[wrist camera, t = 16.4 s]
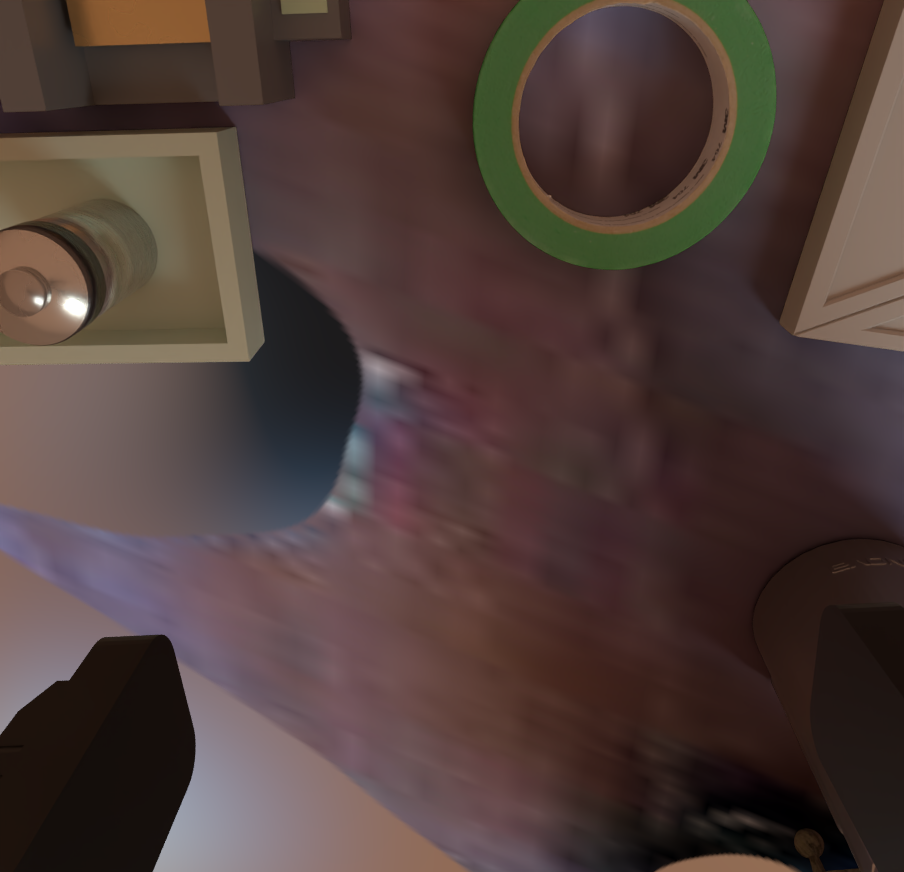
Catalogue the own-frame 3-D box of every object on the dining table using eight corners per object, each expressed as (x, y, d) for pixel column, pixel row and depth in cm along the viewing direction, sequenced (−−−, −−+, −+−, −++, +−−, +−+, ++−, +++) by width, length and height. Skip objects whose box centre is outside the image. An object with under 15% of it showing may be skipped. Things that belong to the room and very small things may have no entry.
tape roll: (643, -122, 28) (658, -138, 26) (810, 127, 32) (838, 132, 29) (415, 104, 32) (409, 108, 29) (587, 307, 35) (595, 326, 33)
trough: (264, 341, 36) (249, 361, 34) (-39, 346, 37) (-75, 366, 34) (236, 126, 32) (216, 132, 30) (-103, 136, 33) (-148, 142, 30)
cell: (147, 194, 33) (62, 228, 26) (167, 292, 35) (93, 348, 28) (49, 200, 33) (-61, 235, 26) (74, 297, 35) (-23, 355, 28)
